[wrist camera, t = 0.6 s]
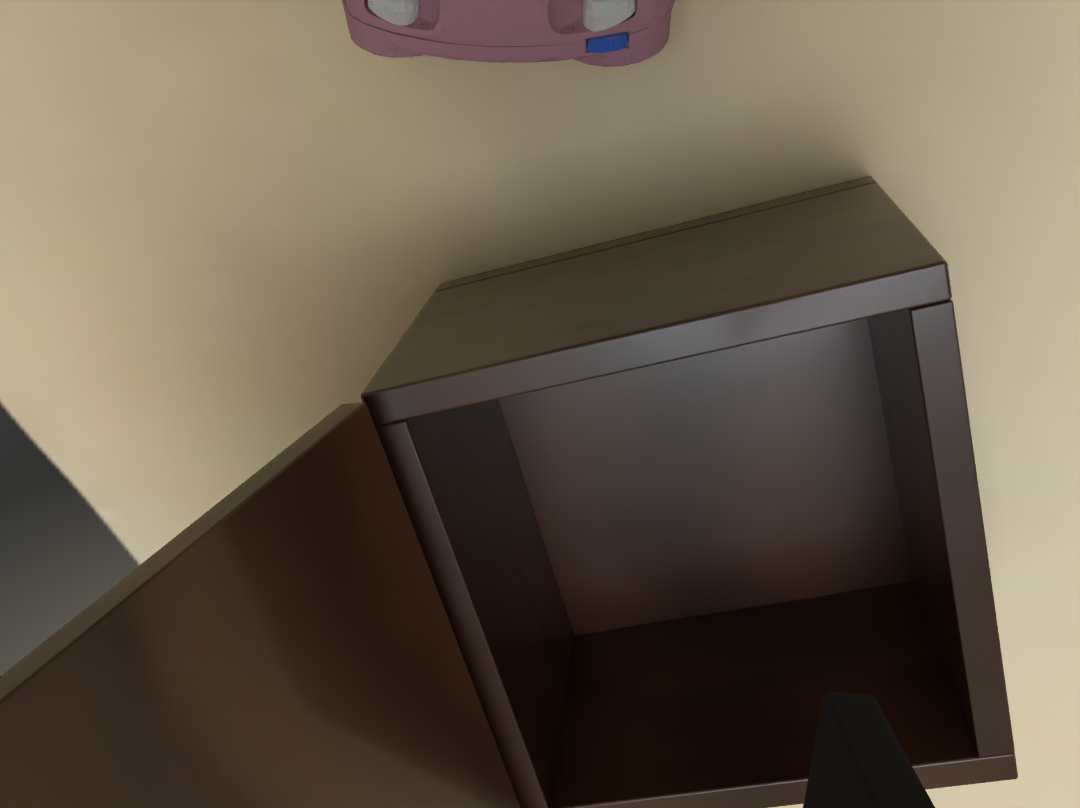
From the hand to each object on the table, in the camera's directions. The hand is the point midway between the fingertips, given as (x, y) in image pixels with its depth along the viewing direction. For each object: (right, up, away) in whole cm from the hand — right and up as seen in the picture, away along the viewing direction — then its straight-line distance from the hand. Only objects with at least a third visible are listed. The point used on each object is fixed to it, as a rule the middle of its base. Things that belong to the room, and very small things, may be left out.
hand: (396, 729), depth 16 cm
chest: (+8, +4, +21) cm, 23 cm away
